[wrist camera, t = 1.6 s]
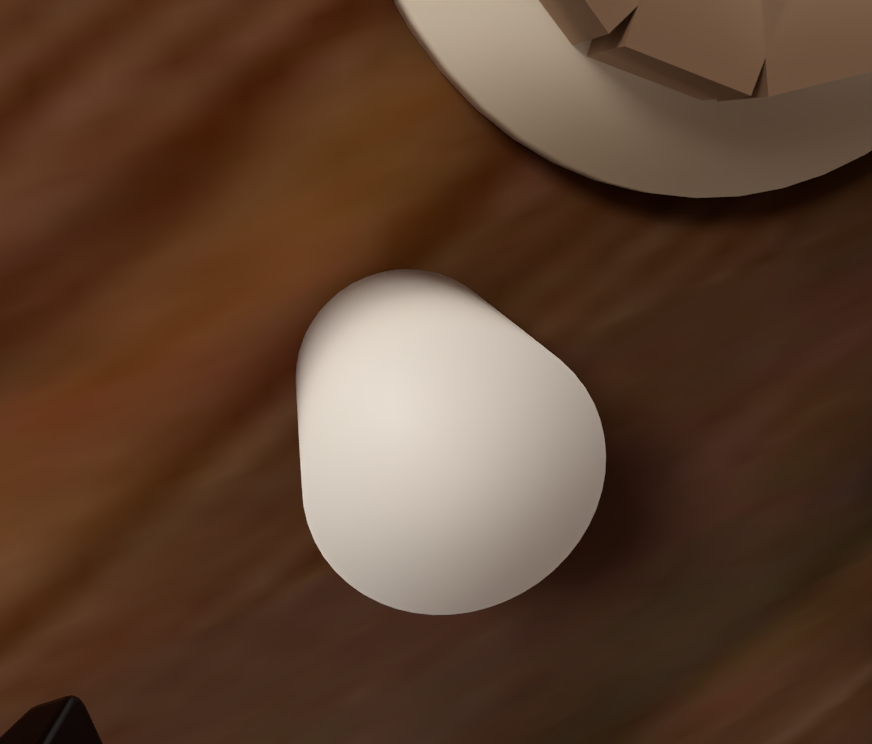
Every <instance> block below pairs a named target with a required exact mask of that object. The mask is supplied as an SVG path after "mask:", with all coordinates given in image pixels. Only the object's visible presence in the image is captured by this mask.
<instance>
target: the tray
mask: <svg viewBox="0 0 872 744" xmlns="http://www.w3.org/2000/svg"><path fill="white" fill-rule="evenodd" d="M393 1H394V3H395V5H396V6H397V8H398V10H399V12H400V14H401V15H402V17H403V19H404V21H405V23H406V24H407V26H408V28H409V30H410V31H411V32H412V34H413V35H414V36H415V38H416V39H417V41H418V42H419V43H420V45H421V46H422V47H423V49H424V50H425V52H426V53H427V54H428V56H429V57H430V58H431V60H432V61H433V62H434V64H435V65H436V67H437V68H438V69H439V71H440V72H441V73H442V74H443V75H444V76H445V77H446V78H447V79H448V80H449V82H450V83H451V84H452V85H453V86H454V87H455V88H456V89H457V90H458V91H459V92H460V93H461V94H462V95H463V96H464V97H465V98H466V100H467V101H468V102H469V103H470V104H471V105H472V106H473V107H474V108H475V109H476V110H477V111H479V112H480V113H481V114H482V115H484V116H485V117H486V118H487V119H488V120H490V121H491V122H492V123H493V124H495V125H496V126H497V127H498V128H500V129H501V130H502V131H503V132H505V133H506V134H507V135H508V136H509V137H511V138H512V139H513V140H515V141H517V142H518V143H520V144H522V145H523V146H525V147H527V148H528V149H530V150H532V151H533V152H535V153H537V154H538V155H540V156H542V157H543V158H545V159H547V160H548V161H550V162H552V163H554V164H556V165H558V166H561V167H563V168H566V169H568V170H570V171H573V172H575V173H577V174H580V175H582V176H585V177H587V178H589V179H592V180H595V181H599V182H603V183H606V184H610V185H614V186H618V187H622V188H626V189H630V190H633V191H640V192H647V193H654V194H663V195H673V196H682V197H692V198H709V197H733V196H744V195H749V194H754V193H760V192H765V191H771V190H776V189H781V188H785V187H788V186H791V185H794V184H797V183H800V182H803V181H806V180H809V179H812V178H815V177H818V176H821V175H824V174H826V173H828V172H830V171H832V170H834V169H836V168H839V167H841V166H843V165H845V164H847V163H849V162H851V161H853V160H855V159H857V158H859V157H861V156H863V155H865V154H867V153H868V152H870V151H871V150H872V0H393Z"/></svg>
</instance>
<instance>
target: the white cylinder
mask: <svg viewBox="0 0 872 744" xmlns="http://www.w3.org/2000/svg"><path fill="white" fill-rule="evenodd" d="M296 395H297V412H298V429H299V446H300V463H301V480H302V494H303V506H304V510H305V514H306V519H307V523H308V526H309V528H310V531H311V533H312V536H313V538H314V541H315V543H316V544H317V546H318V548H319V549H320V551H321V553H322V555H323V556H324V558H325V559H326V560H327V562H328V563H329V564H330V565H331V567H332V568H333V569H334V570H335V571H336V572H337V573H338V574H339V575H340V576H341V577H342V578H343V579H344V580H345V581H346V582H347V583H348V584H350V585H351V586H352V587H354V588H355V589H357V590H358V591H359V592H361V593H362V594H364V595H366V596H368V597H370V598H372V599H374V600H375V601H377V602H379V603H382V604H385V605H387V606H390V607H393V608H396V609H399V610H404V611H408V612H413V613H420V614H430V615H451V614H459V613H467V612H473V611H477V610H481V609H485V608H489V607H491V606H494V605H497V604H499V603H502V602H505V601H507V600H509V599H511V598H513V597H515V596H517V595H519V594H521V593H523V592H525V591H526V590H528V589H530V588H531V587H533V586H534V585H536V584H537V583H539V582H540V581H541V580H543V579H544V578H545V577H546V576H548V575H549V574H550V573H551V572H552V571H554V570H555V569H556V568H557V567H558V566H559V565H560V564H561V563H562V562H563V561H564V560H565V559H566V558H567V556H568V555H569V554H570V553H571V551H572V550H573V549H574V548H575V546H576V545H577V544H578V542H579V541H580V539H581V538H582V536H583V534H584V533H585V531H586V529H587V528H588V526H589V524H590V522H591V520H592V518H593V515H594V513H595V511H596V509H597V506H598V502H599V499H600V496H601V493H602V489H603V483H604V477H605V467H606V449H605V438H604V433H603V429H602V425H601V420H600V417H599V415H598V412H597V410H596V407H595V405H594V402H593V401H592V399H591V397H590V395H589V394H588V392H587V390H586V388H585V387H584V385H583V384H582V383H581V382H580V380H579V379H578V378H577V376H576V375H575V374H574V373H573V372H572V371H571V370H570V369H569V368H568V367H567V366H566V365H565V364H564V363H563V362H562V361H561V360H560V359H559V358H557V357H556V356H555V355H553V354H552V353H551V352H550V351H548V350H547V349H546V348H545V347H543V346H542V345H541V344H540V343H538V342H537V341H536V340H534V339H533V338H532V337H531V336H529V335H528V334H527V333H526V332H524V331H523V330H522V329H521V328H519V327H518V326H517V325H515V324H514V323H513V322H512V321H510V320H509V319H508V318H507V317H505V316H504V315H503V314H502V313H500V312H499V311H498V310H496V309H495V308H494V307H493V306H491V305H490V304H489V303H488V302H486V301H485V300H484V299H483V298H481V297H480V296H479V295H477V294H476V293H475V292H474V291H472V290H471V289H469V288H468V287H466V286H465V285H464V284H462V283H460V282H458V281H456V280H454V279H452V278H450V277H447V276H444V275H442V274H439V273H435V272H430V271H426V270H416V269H400V270H391V271H386V272H380V273H377V274H374V275H371V276H368V277H365V278H363V279H361V280H359V281H357V282H355V283H353V284H351V285H350V286H348V287H346V288H345V289H343V290H342V291H340V292H339V293H338V294H337V295H336V296H334V297H333V298H332V299H331V300H330V301H329V302H328V303H327V304H326V305H325V306H324V307H323V308H322V309H321V310H320V312H319V313H318V314H317V316H316V317H315V319H314V320H313V321H312V323H311V324H310V326H309V328H308V330H307V332H306V334H305V336H304V339H303V341H302V344H301V347H300V350H299V354H298V359H297V364H296Z"/></svg>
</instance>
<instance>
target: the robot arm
mask: <svg viewBox="0 0 872 744" xmlns="http://www.w3.org/2000/svg"><path fill="white" fill-rule="evenodd" d="M0 744H102V741H101V739H100V737H99V735H98V733H97V731H96V728H95V726H94V724H93V722H92V720H91V718H90V715H89V713H88V711H87V709H86V707H85V705H84V703H83V702H82V701H81V700H80V699H79V698H78V697H75V696H72V695H70V696H66V697H63V698H59V699H56V700H53V701H49V702H46V703H43V704H40V705H37V706H35V707H33V708H31V709H30V710H29V711H28V712H27V713H26V714H25V715H23V716H22V717H21V718H20V719H19V720H18V721H17V722H16V723H15V724H14V725H13V726H12V727H11V728H10V729H9V730H8V731H7V732H5V733H4V734H3V735H2V736H1V737H0Z"/></svg>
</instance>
